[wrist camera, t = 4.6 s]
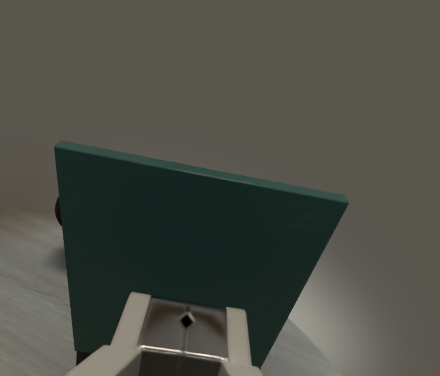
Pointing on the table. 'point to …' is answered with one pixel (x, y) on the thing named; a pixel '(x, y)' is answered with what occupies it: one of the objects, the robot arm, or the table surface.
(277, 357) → the table surface
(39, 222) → the table surface
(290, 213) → the lid
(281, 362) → the table surface
